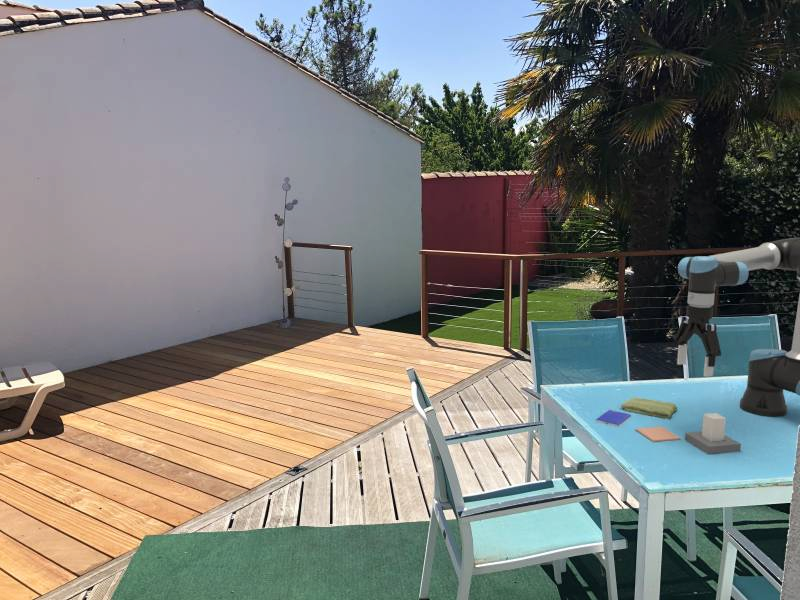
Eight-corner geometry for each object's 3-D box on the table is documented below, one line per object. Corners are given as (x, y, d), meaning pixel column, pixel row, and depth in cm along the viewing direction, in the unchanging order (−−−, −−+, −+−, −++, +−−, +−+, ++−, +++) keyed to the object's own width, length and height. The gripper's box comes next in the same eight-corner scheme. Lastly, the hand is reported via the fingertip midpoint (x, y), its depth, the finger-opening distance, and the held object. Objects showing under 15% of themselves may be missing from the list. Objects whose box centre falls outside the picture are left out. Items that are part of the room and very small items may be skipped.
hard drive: (608, 409, 222) (595, 418, 212) (631, 414, 216) (618, 424, 207) (608, 413, 222) (595, 423, 213) (630, 418, 217) (617, 428, 207)
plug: (713, 442, 195) (715, 413, 193) (723, 447, 190) (725, 418, 188) (700, 443, 194) (703, 414, 192) (710, 449, 189) (713, 419, 188)
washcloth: (629, 401, 234) (629, 393, 234) (677, 411, 224) (678, 402, 223) (619, 411, 224) (619, 403, 223) (669, 421, 213) (670, 413, 213)
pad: (661, 428, 206) (662, 426, 206) (680, 439, 196) (680, 438, 196) (635, 430, 204) (635, 428, 204) (653, 442, 195) (653, 440, 195)
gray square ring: (715, 437, 198) (715, 430, 198) (740, 451, 188) (741, 443, 187) (684, 439, 196) (685, 432, 196) (708, 454, 185) (709, 446, 185)
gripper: (666, 299, 201) (661, 360, 204) (715, 313, 176) (709, 382, 180) (686, 298, 202) (681, 359, 205) (738, 312, 177) (731, 381, 181)
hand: (694, 370), depth 193 cm, fingers open, 13 cm apart
